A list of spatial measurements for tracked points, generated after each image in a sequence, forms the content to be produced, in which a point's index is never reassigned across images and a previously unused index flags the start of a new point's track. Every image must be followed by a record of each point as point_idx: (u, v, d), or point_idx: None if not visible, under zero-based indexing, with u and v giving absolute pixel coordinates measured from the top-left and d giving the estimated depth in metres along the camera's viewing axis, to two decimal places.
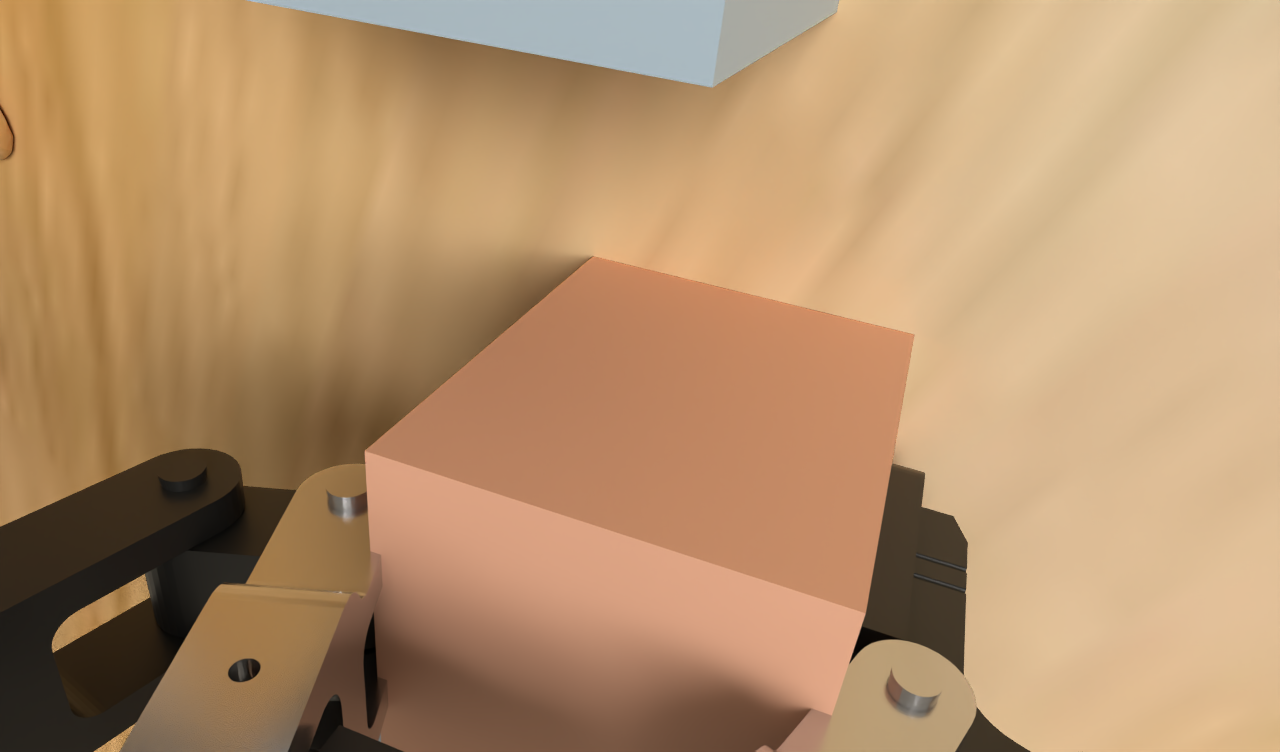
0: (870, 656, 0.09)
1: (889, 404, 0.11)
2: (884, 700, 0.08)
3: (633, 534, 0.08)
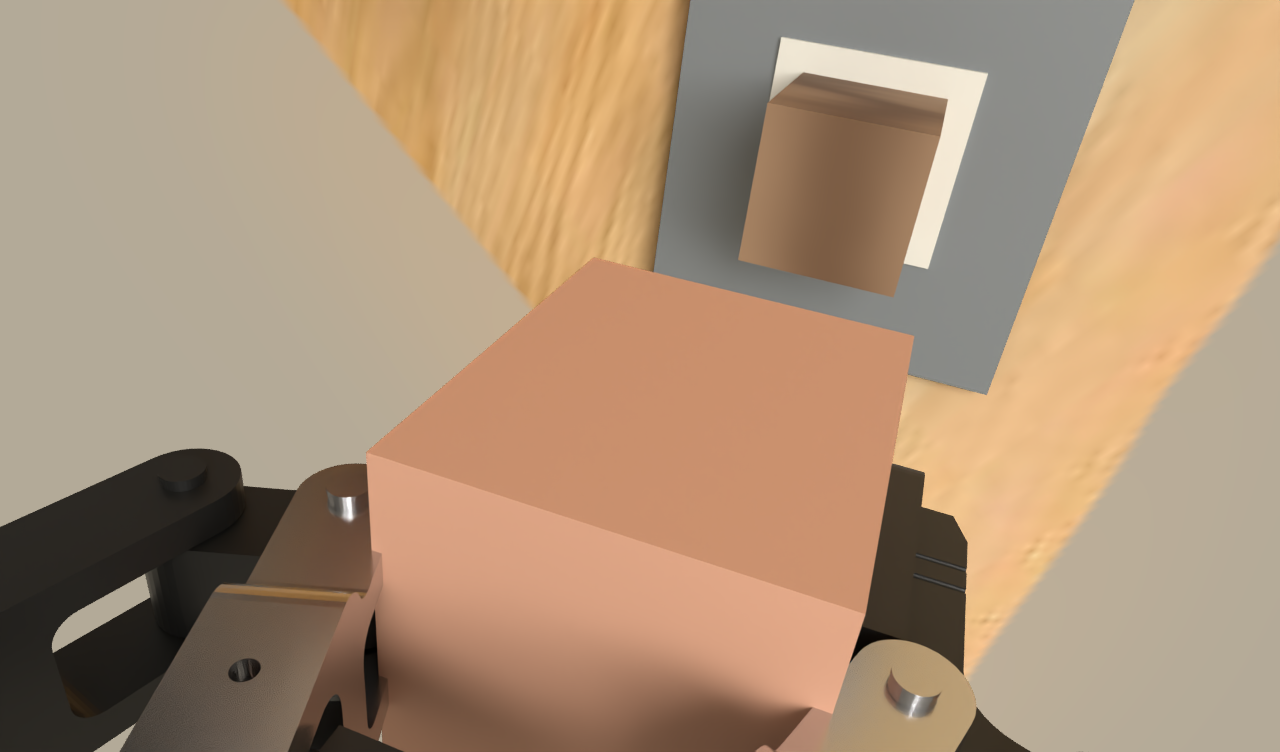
0: (870, 656, 0.09)
1: (889, 406, 0.11)
2: (884, 700, 0.08)
3: (634, 535, 0.08)
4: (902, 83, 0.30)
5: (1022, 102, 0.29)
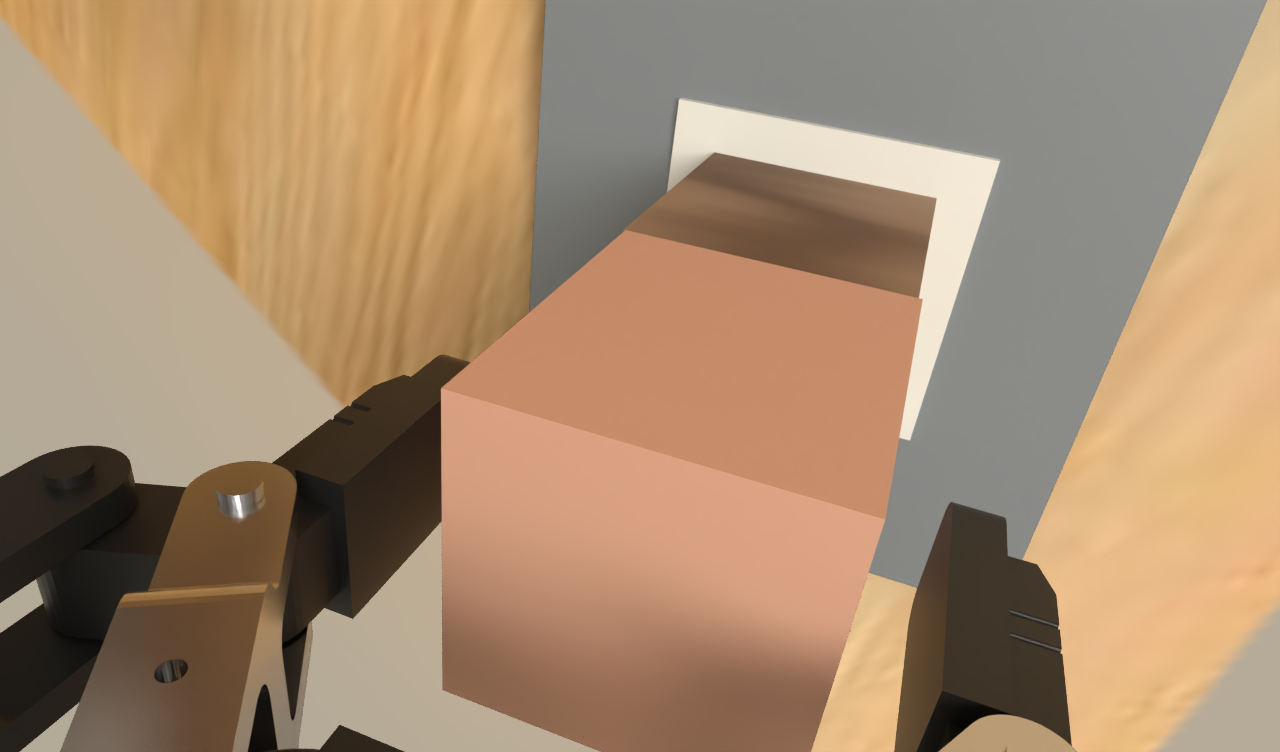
0: (984, 729, 0.08)
1: (901, 356, 0.12)
2: None
3: (681, 456, 0.09)
4: (865, 172, 0.19)
5: (1055, 205, 0.18)
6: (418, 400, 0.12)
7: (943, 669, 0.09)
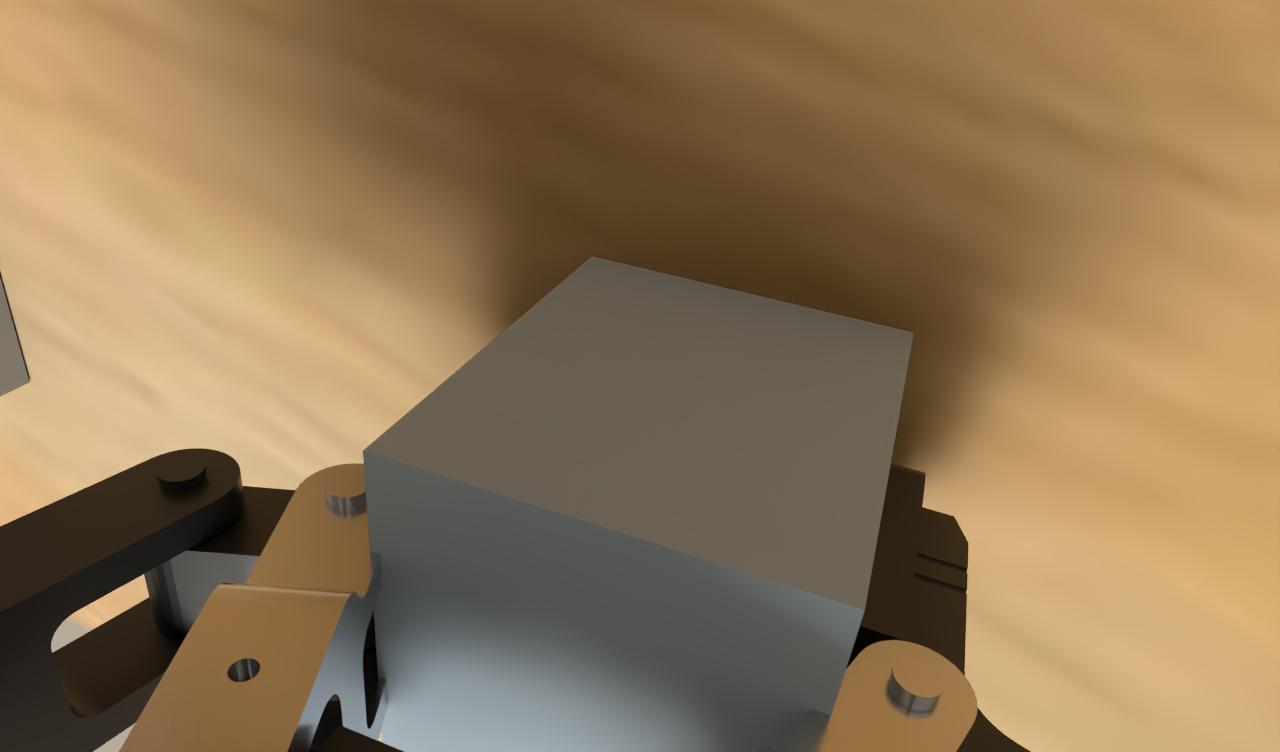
0: (870, 657, 0.09)
1: None
2: (885, 701, 0.08)
3: None
4: None
5: None
6: None
7: None
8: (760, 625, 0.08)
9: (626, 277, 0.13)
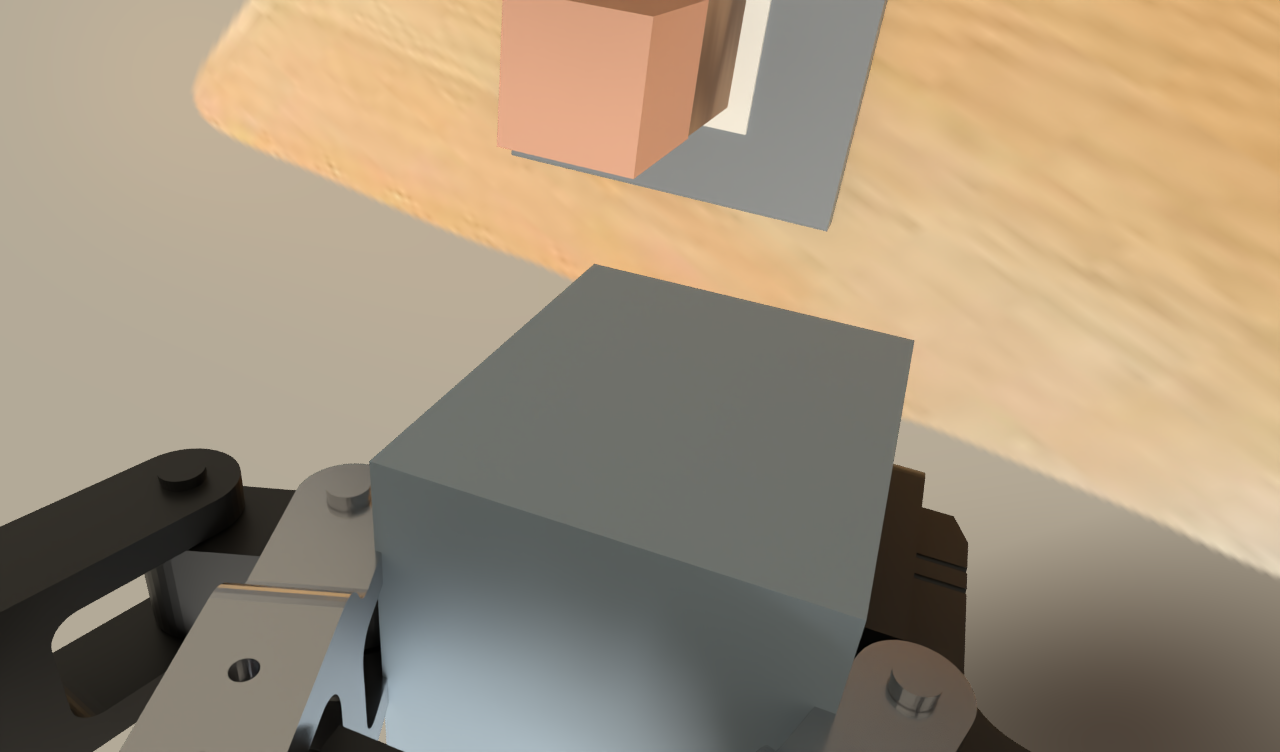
0: (870, 657, 0.09)
1: (669, 148, 0.31)
2: (884, 700, 0.08)
3: (642, 113, 0.27)
4: (739, 71, 0.37)
5: (725, 159, 0.40)
6: None
7: None
8: (763, 634, 0.08)
9: (628, 285, 0.13)
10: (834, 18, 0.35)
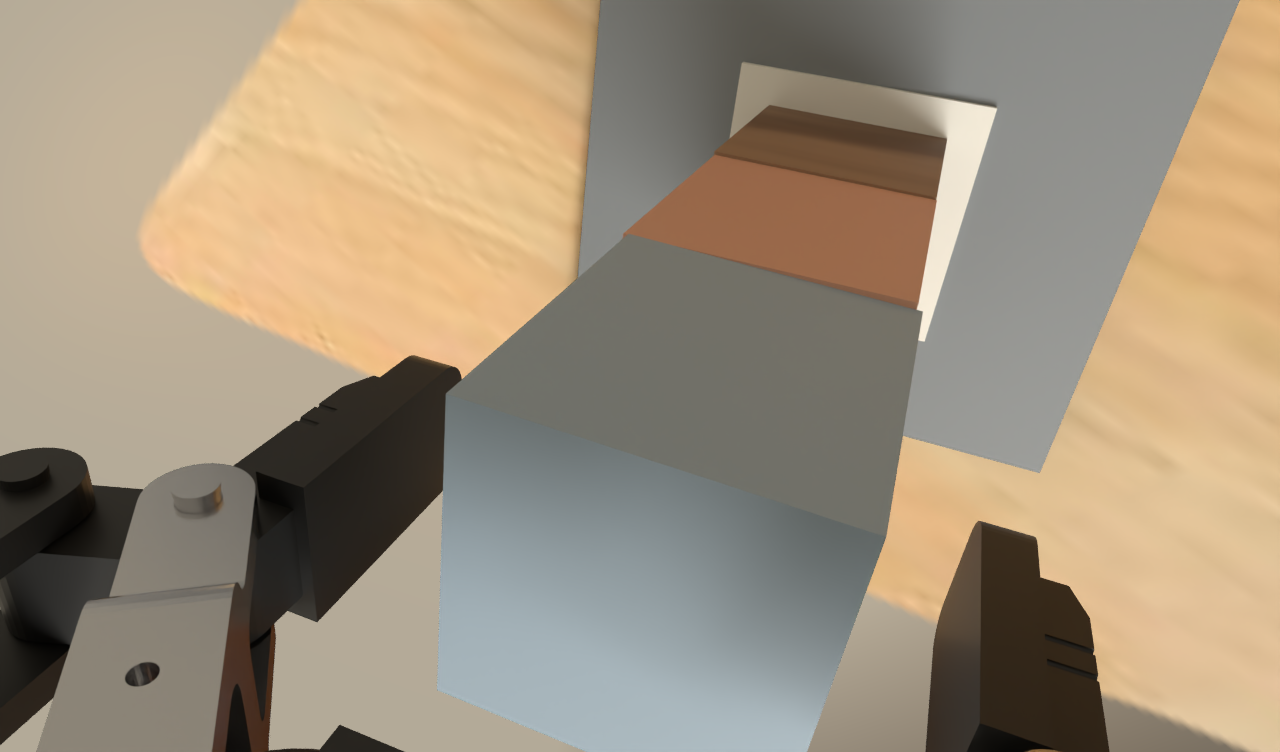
0: None
1: None
2: None
3: None
4: None
5: None
6: (385, 401, 0.12)
7: (979, 700, 0.09)
8: (794, 551, 0.09)
9: (660, 254, 0.14)
10: (1081, 190, 0.23)
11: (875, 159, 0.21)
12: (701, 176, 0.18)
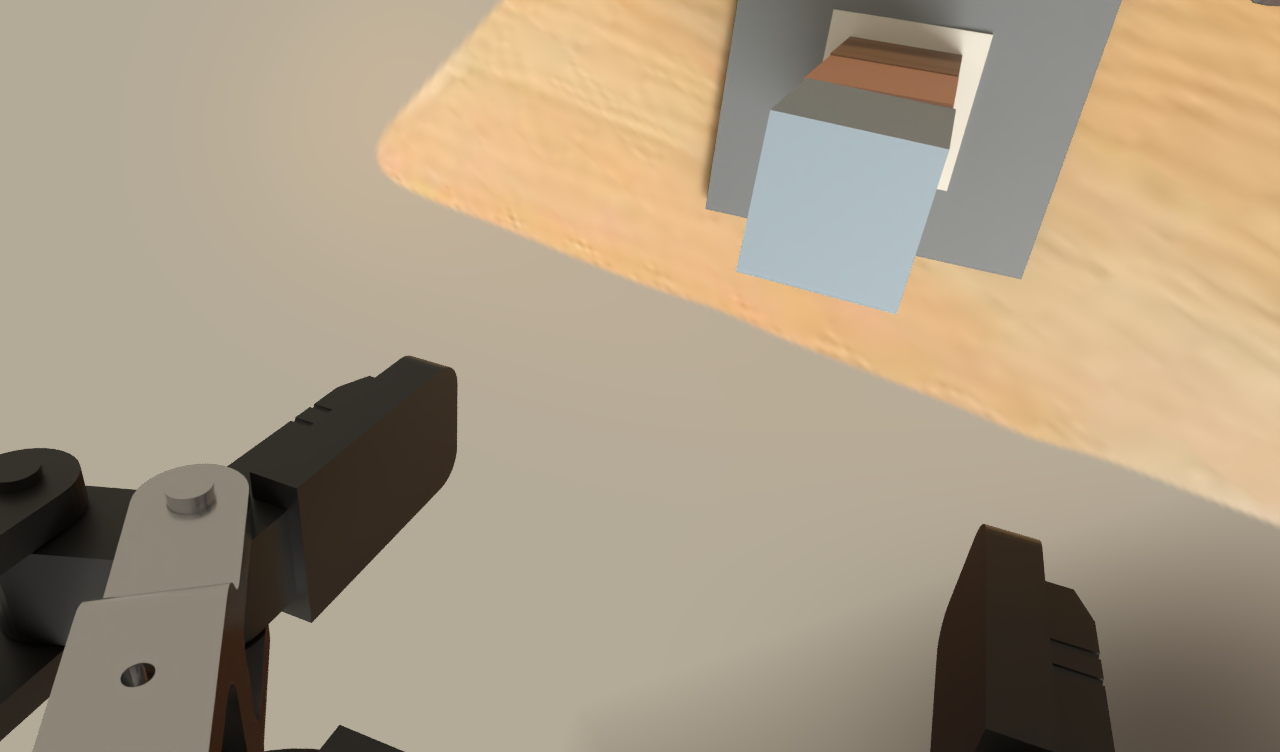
0: None
1: None
2: None
3: None
4: None
5: None
6: (380, 401, 0.12)
7: (985, 705, 0.09)
8: (913, 162, 0.24)
9: (826, 84, 0.29)
10: (1044, 85, 0.38)
11: (921, 60, 0.35)
12: (828, 62, 0.33)
